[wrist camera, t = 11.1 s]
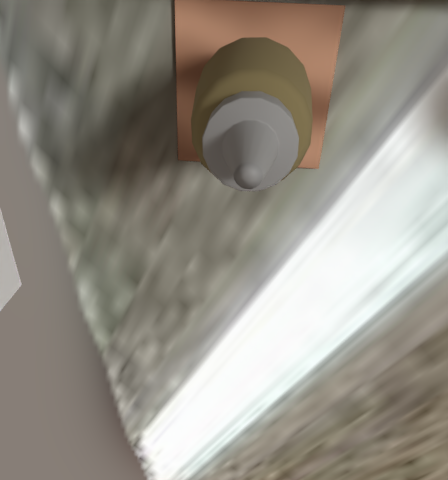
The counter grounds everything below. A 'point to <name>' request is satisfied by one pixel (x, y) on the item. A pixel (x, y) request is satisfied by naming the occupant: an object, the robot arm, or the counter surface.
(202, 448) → the counter surface
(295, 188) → the counter surface
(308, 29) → the rail
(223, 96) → the squeeze bottle
